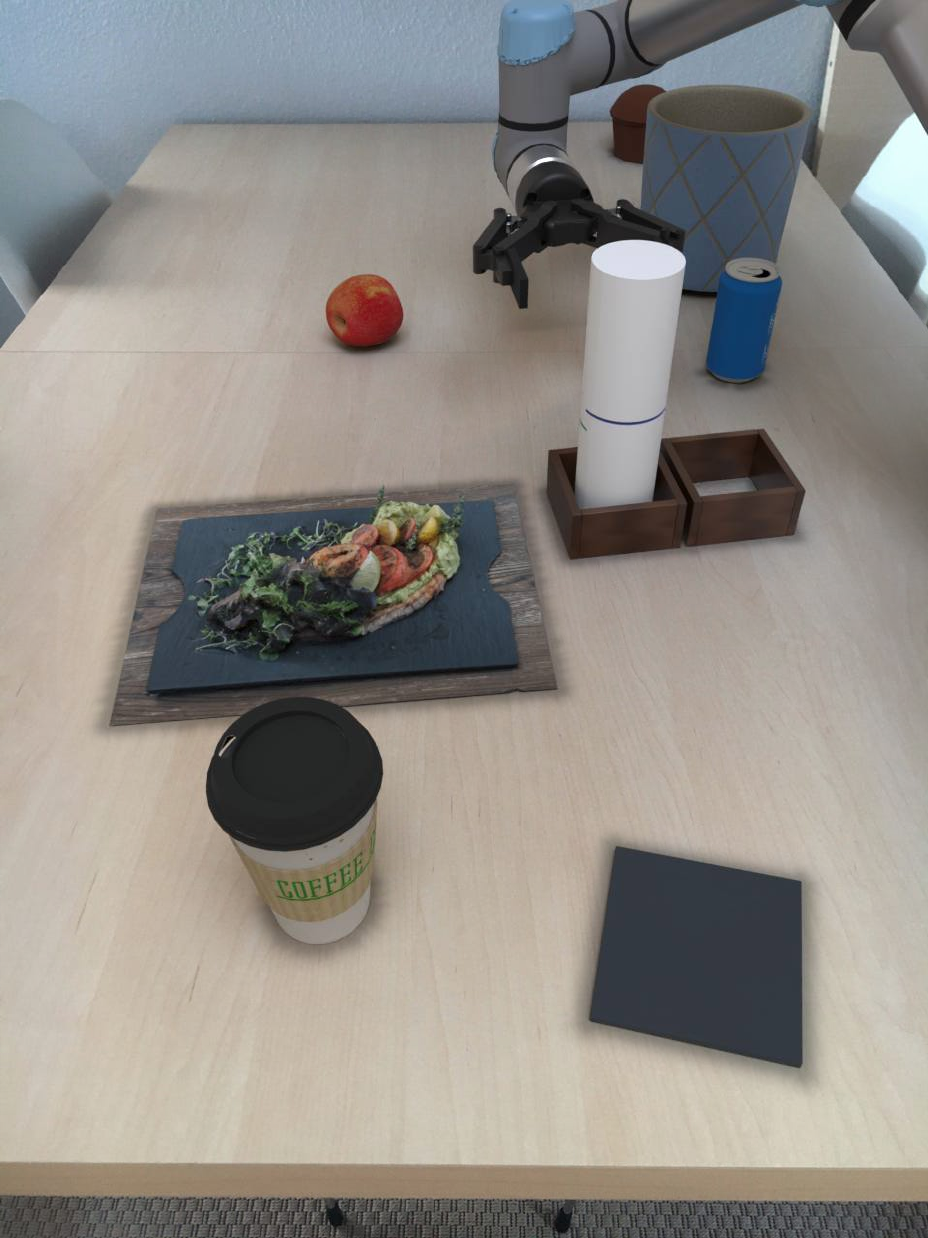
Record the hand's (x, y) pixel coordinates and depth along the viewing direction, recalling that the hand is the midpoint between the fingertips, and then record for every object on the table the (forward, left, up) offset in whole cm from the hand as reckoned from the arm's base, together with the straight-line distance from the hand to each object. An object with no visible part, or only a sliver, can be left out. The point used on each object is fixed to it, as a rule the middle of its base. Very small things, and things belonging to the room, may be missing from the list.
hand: (600, 288), depth 87 cm
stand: (-9, +7, -18) cm, 21 cm away
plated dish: (+18, +24, -18) cm, 35 cm away
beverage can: (-14, -21, -18) cm, 31 cm away
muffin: (+4, -90, -18) cm, 92 cm away
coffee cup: (+9, +53, -18) cm, 57 cm away
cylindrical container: (-4, +9, -18) cm, 21 cm away
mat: (-15, +51, -18) cm, 56 cm away
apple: (+29, -19, -18) cm, 40 cm away
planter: (-9, -47, -18) cm, 51 cm away
